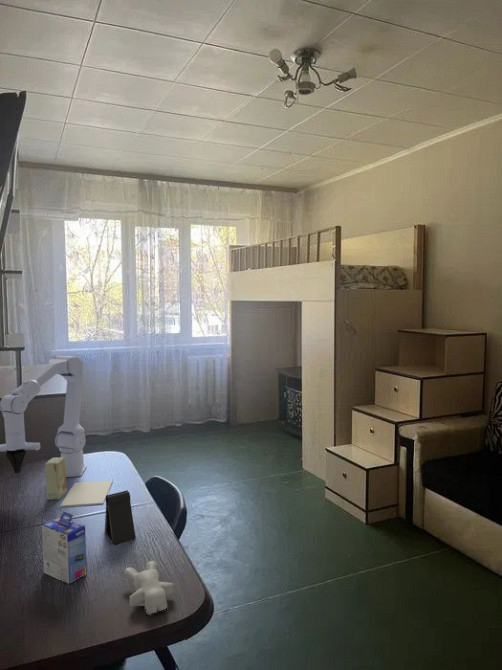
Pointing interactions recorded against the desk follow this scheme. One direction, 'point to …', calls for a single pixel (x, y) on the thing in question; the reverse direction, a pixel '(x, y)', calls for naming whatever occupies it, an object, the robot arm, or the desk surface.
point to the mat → (87, 493)
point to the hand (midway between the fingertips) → (17, 472)
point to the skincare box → (55, 478)
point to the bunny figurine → (149, 588)
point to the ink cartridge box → (64, 548)
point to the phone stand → (119, 517)
